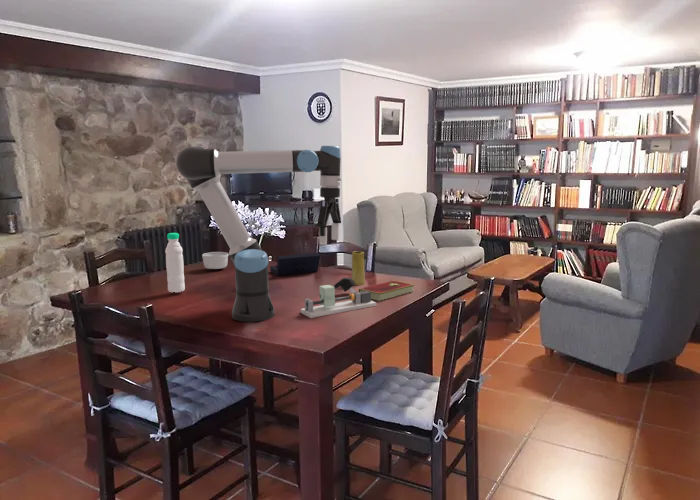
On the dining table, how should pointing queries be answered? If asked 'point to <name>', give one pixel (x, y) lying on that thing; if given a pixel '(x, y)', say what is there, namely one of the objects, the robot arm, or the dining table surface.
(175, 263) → the water bottle
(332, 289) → the pale green block
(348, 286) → the power plug
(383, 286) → the hardcover book
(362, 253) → the vase
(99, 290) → the dining table surface
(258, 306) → the robot arm
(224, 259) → the ramekin
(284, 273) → the storage box
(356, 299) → the linear slide rail
